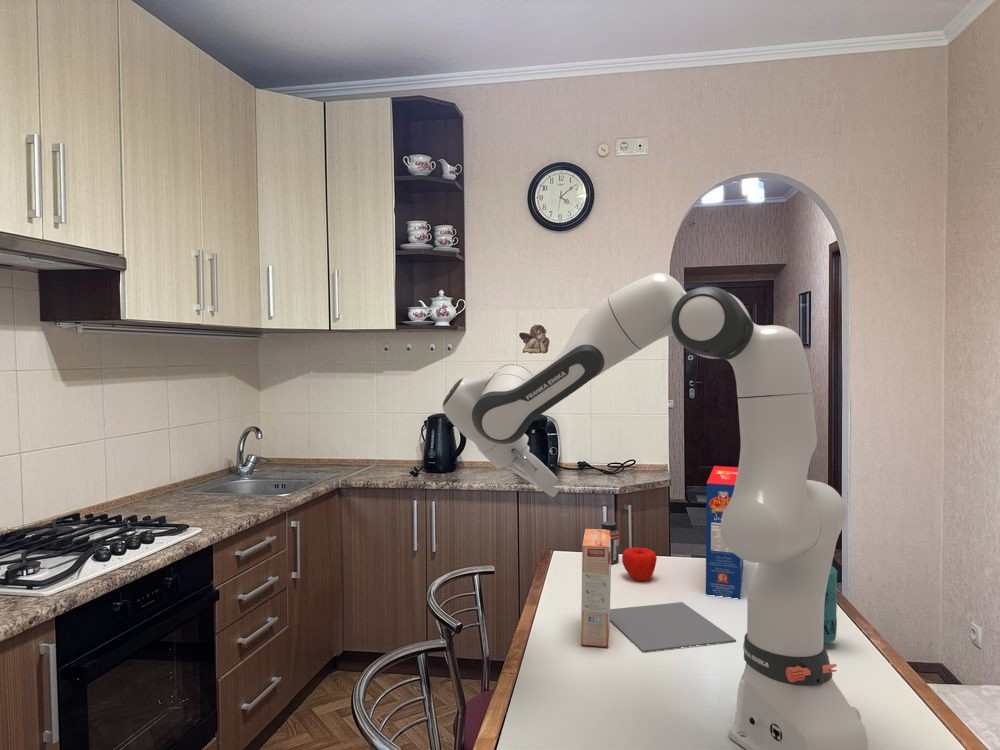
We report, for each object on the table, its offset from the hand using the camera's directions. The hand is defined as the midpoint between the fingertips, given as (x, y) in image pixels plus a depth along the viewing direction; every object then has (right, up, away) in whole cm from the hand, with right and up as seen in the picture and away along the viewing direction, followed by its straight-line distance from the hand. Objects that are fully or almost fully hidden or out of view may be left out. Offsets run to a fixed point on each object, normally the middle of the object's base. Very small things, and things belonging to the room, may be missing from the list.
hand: (553, 493), depth 135 cm
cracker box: (+10, -31, +7) cm, 34 cm away
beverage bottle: (+55, -31, +2) cm, 63 cm away
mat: (+25, -31, +11) cm, 42 cm away
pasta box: (+49, -31, +42) cm, 71 cm away
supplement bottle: (+20, -30, +57) cm, 68 cm away
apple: (+26, -30, +42) cm, 58 cm away
